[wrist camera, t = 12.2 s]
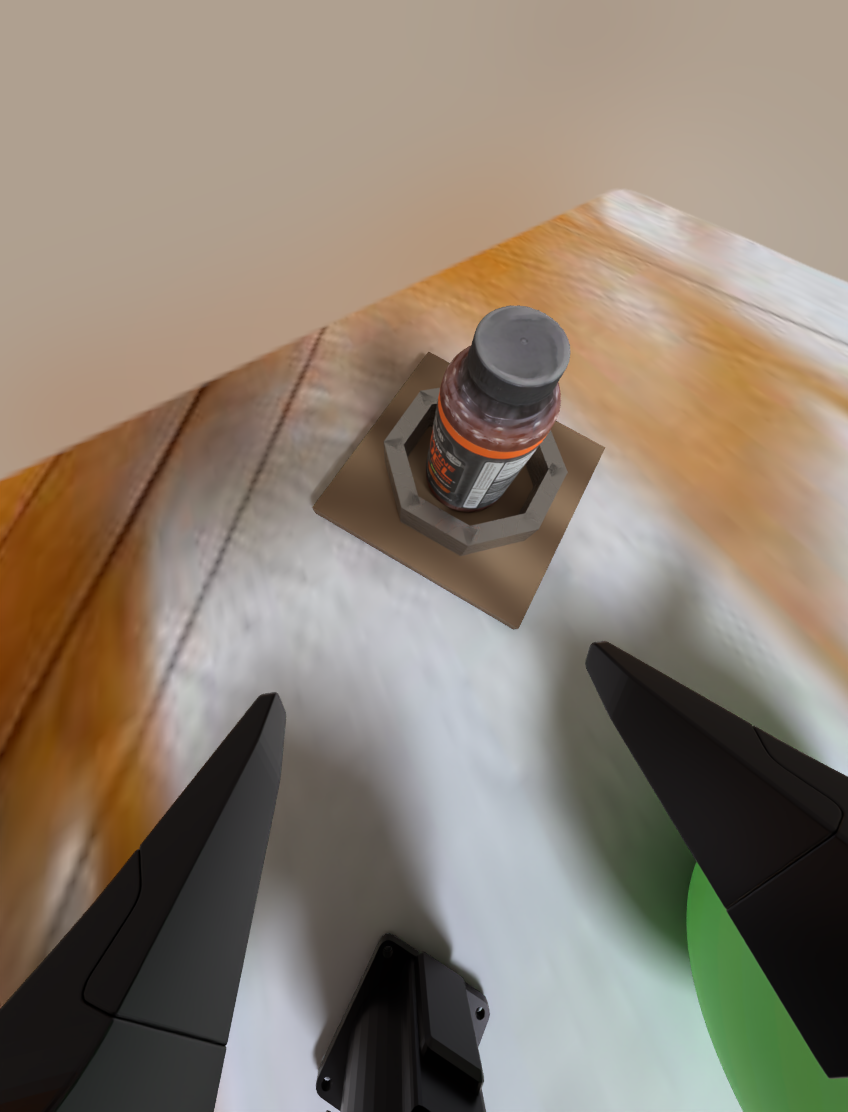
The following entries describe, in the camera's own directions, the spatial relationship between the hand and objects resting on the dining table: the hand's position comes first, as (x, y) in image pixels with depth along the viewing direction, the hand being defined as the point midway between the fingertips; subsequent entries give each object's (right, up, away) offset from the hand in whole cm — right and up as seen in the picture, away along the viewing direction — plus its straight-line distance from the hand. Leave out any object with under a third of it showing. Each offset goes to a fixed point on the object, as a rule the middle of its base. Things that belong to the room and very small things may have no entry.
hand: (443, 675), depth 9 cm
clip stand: (+3, +9, +16) cm, 18 cm away
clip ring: (+3, +9, +16) cm, 18 cm away
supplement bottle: (+2, +9, +15) cm, 18 cm away
